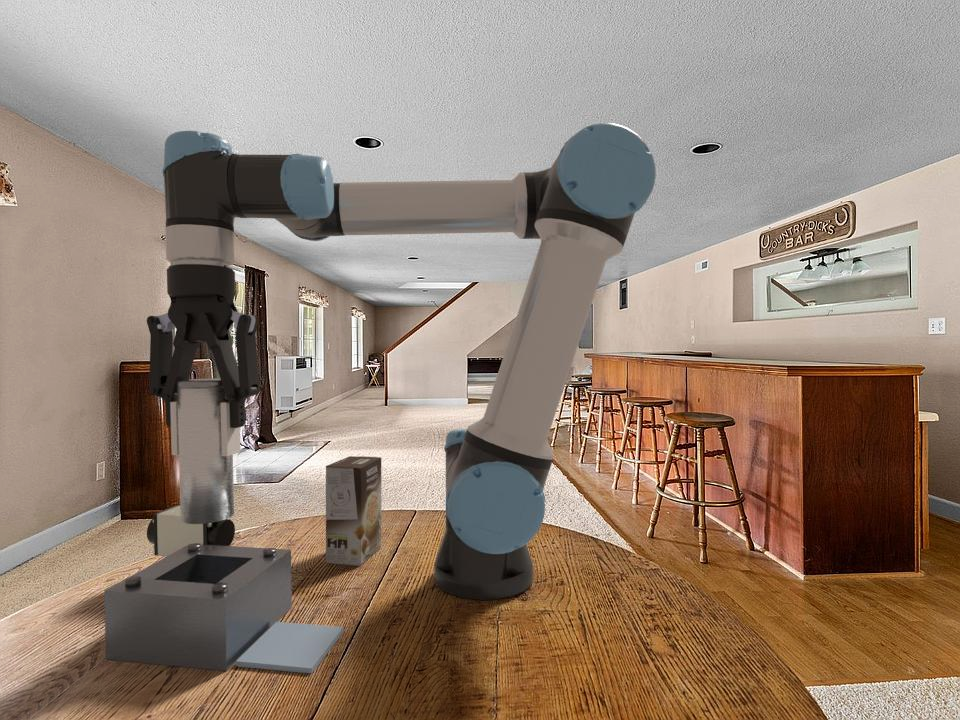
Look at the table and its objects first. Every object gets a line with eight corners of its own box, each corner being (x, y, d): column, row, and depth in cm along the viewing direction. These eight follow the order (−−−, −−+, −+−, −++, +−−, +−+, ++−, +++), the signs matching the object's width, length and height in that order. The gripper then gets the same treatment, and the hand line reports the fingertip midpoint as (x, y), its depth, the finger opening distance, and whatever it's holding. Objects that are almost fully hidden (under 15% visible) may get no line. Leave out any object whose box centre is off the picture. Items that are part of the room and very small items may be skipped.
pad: (343, 631, 71) (343, 627, 71) (311, 673, 62) (311, 668, 62) (276, 626, 72) (276, 621, 72) (235, 666, 64) (235, 661, 64)
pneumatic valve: (216, 593, 82) (215, 511, 81) (146, 586, 84) (144, 506, 84) (240, 577, 87) (239, 500, 87) (173, 571, 90) (172, 495, 89)
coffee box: (361, 567, 91) (360, 468, 91) (324, 563, 93) (324, 466, 92) (382, 546, 100) (382, 456, 100) (348, 544, 102) (348, 454, 101)
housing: (291, 607, 77) (291, 545, 77) (226, 671, 63) (225, 594, 62) (191, 599, 80) (190, 539, 79) (105, 659, 65) (104, 585, 65)
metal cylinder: (243, 510, 73) (240, 378, 73) (215, 525, 67) (211, 382, 67) (201, 508, 74) (197, 378, 73) (169, 523, 68) (165, 381, 68)
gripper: (288, 267, 72) (292, 449, 73) (153, 271, 75) (158, 446, 76) (256, 259, 64) (261, 461, 65) (108, 264, 67) (114, 458, 68)
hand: (206, 453), depth 70 cm, fingers closed on metal cylinder, 6 cm apart
